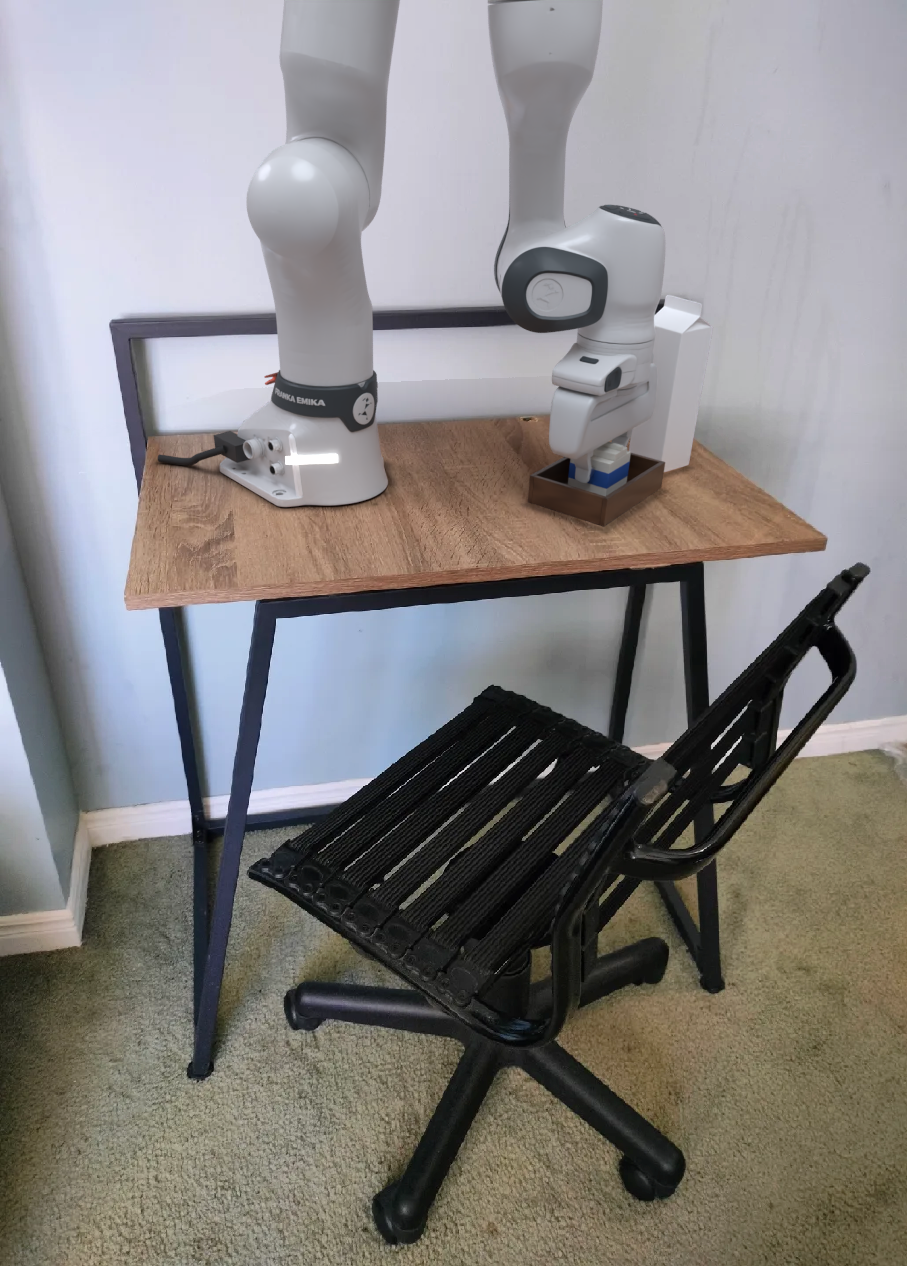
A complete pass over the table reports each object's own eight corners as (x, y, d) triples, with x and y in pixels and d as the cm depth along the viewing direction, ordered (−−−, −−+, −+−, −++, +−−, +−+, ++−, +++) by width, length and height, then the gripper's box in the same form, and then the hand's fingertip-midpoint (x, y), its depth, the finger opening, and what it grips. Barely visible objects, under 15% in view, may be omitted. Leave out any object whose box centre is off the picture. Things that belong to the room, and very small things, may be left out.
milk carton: (566, 495, 115) (571, 441, 111) (587, 482, 119) (594, 429, 115) (604, 507, 113) (611, 452, 109) (625, 493, 116) (632, 440, 112)
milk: (658, 477, 123) (686, 306, 111) (626, 462, 127) (648, 296, 115) (689, 467, 126) (718, 300, 114) (656, 453, 130) (681, 291, 118)
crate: (527, 505, 113) (529, 475, 111) (588, 470, 124) (591, 441, 122) (603, 530, 108) (607, 499, 106) (660, 491, 119) (665, 461, 116)
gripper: (630, 337, 115) (616, 442, 123) (543, 372, 101) (534, 489, 109) (676, 346, 112) (659, 454, 120) (593, 384, 98) (580, 503, 106)
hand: (599, 471), depth 114 cm, fingers open, 6 cm apart
